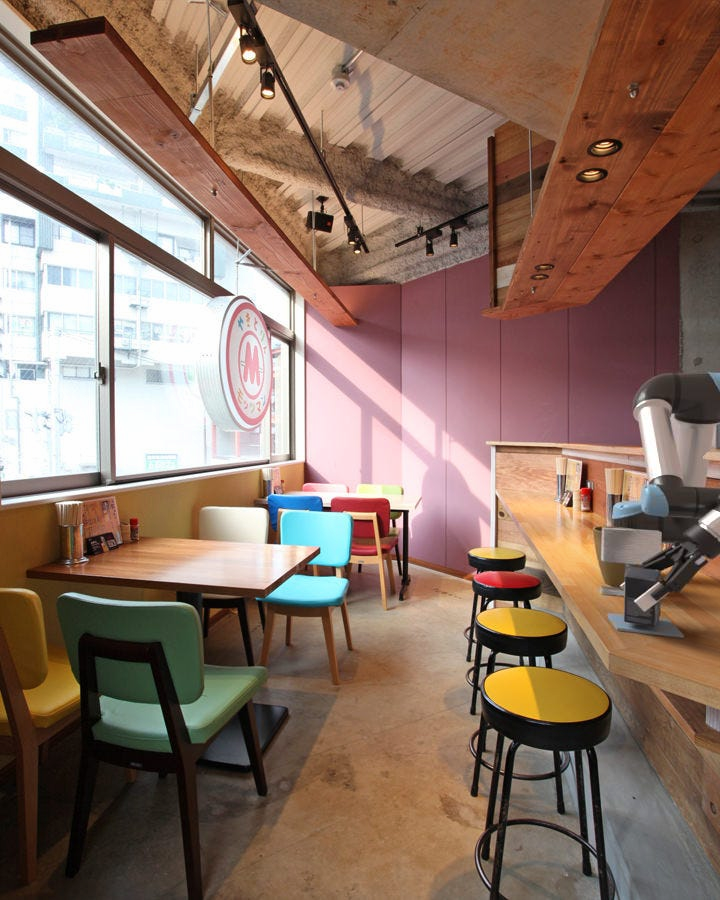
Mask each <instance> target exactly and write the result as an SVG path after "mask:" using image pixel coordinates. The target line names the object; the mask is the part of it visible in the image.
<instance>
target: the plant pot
mask: <svg viewBox="0 0 720 900" xmlns="http://www.w3.org/2000/svg"><path fill="white" fill-rule="evenodd" d="M602 527H607V528H622V527H612V526H609V525H608V526H607V525H606V526H605V525H602V526H594V527H592V530H593V531H592V532H593V533H592V534H593V541H594V548H595V553H596V558H597V561H598V562H597V563H598V566H599V570H600V573H601V576H602V580H603V581H604V584H606V585H608V584H609V585H608V586H611V585H613V586H612V587H615V586H620V585H621V584H623V583H624V578H625V563H614V562H603V561H602V560H601V543H602ZM623 529H630V528H623ZM641 566H642V565H640V564H635V567H636V568H641ZM619 588H621V586H620V587H619Z"/></svg>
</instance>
